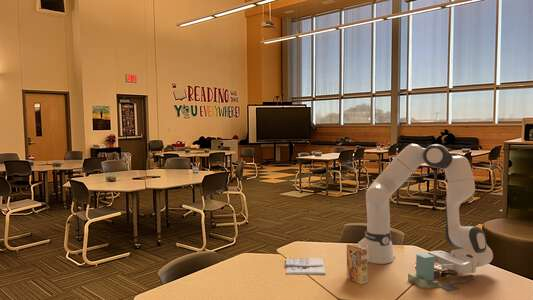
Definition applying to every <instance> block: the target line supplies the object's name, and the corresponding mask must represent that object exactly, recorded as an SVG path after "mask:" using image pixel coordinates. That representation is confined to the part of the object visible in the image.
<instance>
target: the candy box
mask: <svg viewBox="0 0 533 300" xmlns="http://www.w3.org/2000/svg"><path fill="white" fill-rule="evenodd" d="M346 279H348V280H350V281H353V282H354V283H357V284H359V285H365V284H367V283H368V262H367V248H365V247H362V246H359V245H358V244H355V243H349V244H346Z"/></svg>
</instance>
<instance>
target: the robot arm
mask: <svg viewBox="0 0 533 300" xmlns="http://www.w3.org/2000/svg"><path fill="white" fill-rule="evenodd" d="M423 164H426V166H429V167H431V168H434V169H435V168H436V169H443V170H444V172H445V175H446V180H447V193H446V194H445V199H444V205H445V209H444V210H445V232H444V234H445V235H444V237H445V241H446V243H447V244H448V245H449V246H450V247H452V248H456V249H452V250H451V251H450V252H446V251H444V250H431V251H428V252H427V254H429V255H432V256H434V263H436V264H439V265H440V266H441V268H440V269H442V270H448V269H450V270H454V271H457V273H459V274H470V273H471V274H475V273H476V270H477V268H479V267H483V266H487V265H489V264H490V263H491V262H492V261H493V258H494V253H493V251H492V249H491V248H490V246H488V244H487V238H486V234H485V232H484V231H483V229H482V228H480V227H479V226H472V225H471V226H469V225H468V226H463V225H461V223H460V206H461V204H462V203H464V201H467V200H468V199H469V198H471V197H472V196H473V195H474V193H475V192H476V184H475V177H474V173H473V170H472V167H471V164H470V162H469V160H468V158H467V157H465V156H462V155H452V154H451V153H450V150H449V149H448V148H447V147H446V146H444V145H442V144H439V143H434V144H430V145H428V146H426V147H422V146H421V145H419V144H416V143H410V144H408V145H407V146H405V147H404V148H403V149H402V150H401V151H400V152H399V153H398V154H397V155H396V156H395V157H394V158H393V159H392V161H391V162H390V163H389V164H388V165H387V166H386V167H385V169H383V170H382V172H381V173H380V174H379V175H378V176H377V177H376V178H375V179H374V180H373V182H371V184H370V185H369V186H368V188H367V190H365V191H366V192H365V204H366V205H365V206H366V218H367V219H366V220H367V221H366V222H367V223H366V230H365V231H364V234H365V235H364V238H361V240H360V241H358V242H357V245H359V246H362V247H365V248H367V263H372V264H379V265H381V264H382V265H383V264H390V263H393V261H394V258H395V257H396V255H395V254H394V249H393V242H392V234H391V213H390V211H391V210H390V198H391V196H393V194H394V193H396V191H397V190H398V189H399V188H401V186H402V185H404V183H406V181H407V180H408V179H409V178H410V177H411V176H412V175H413V174H414V172H415V171H416V170H417V169H418V168H420V166H421V165H423Z"/></svg>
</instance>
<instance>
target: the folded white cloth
mask: <svg viewBox="0 0 533 300" xmlns="http://www.w3.org/2000/svg"><path fill="white" fill-rule="evenodd" d="M300 267H302V268H300ZM308 267H312V268H308ZM313 267H314V268H313ZM303 268H306V269H303ZM285 269H286V270H285V274H286V275H316V274H319V275H318V276H324V275H323V274H325V275H326V271H325V261H324V260H323V258H322V257H307V258H306V257H305V258H303V257H302V258H301V257H299V258H296V257H295V258H290V257H289V258H285ZM320 274H321V275H320Z"/></svg>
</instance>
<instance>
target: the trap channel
mask: <svg viewBox="0 0 533 300" xmlns="http://www.w3.org/2000/svg"><path fill="white" fill-rule="evenodd" d="M449 272H450V274H449V275H451V274H452V275H454V274H457V273H458V272H457V271H454V270H450V269H449ZM440 276H441V274H440V271H434V278H436V277H440ZM474 280H475V276H474V274H467V275H462V276H456V277H450V278H447V284H442V285H440V282H439V281H438V280H434V281H433V282H427V281H425V280H423V279H421V278H419V277H417V276H416V273H415V274H413V273H411V272H409V273H407V281H408V282H411V283H412V284H414V285H416V286H418V287H420V288H422V289H424V290H427V289H433V288H437V287H439V288H440V289H443V290H445V291H447V292H450V291H456V290H460V288H459V287H458V286H456V285H455V284H459V283H465V282H469V281H474Z"/></svg>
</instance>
